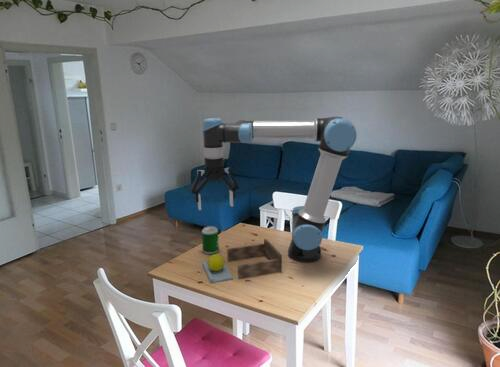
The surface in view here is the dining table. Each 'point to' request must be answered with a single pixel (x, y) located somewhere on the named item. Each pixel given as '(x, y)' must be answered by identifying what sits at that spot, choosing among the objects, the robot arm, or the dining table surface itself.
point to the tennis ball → (216, 262)
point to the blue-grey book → (217, 274)
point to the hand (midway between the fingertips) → (215, 207)
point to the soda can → (210, 240)
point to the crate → (257, 267)
